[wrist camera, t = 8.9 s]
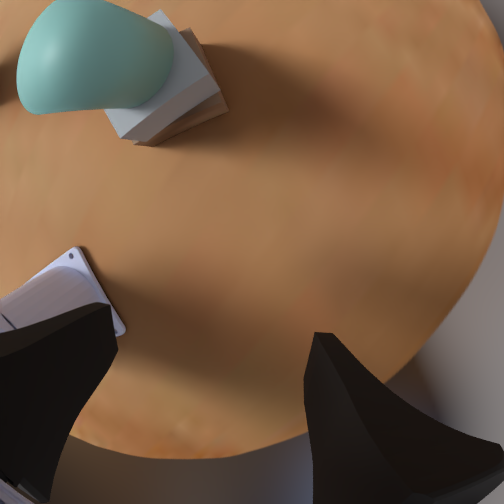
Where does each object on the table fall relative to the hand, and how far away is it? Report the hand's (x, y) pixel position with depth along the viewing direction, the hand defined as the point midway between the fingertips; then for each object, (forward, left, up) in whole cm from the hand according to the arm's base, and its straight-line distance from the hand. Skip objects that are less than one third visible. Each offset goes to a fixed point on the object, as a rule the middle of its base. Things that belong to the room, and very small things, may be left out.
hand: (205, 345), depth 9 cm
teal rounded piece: (+1, +12, -4) cm, 12 cm away
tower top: (+1, +12, -7) cm, 14 cm away
